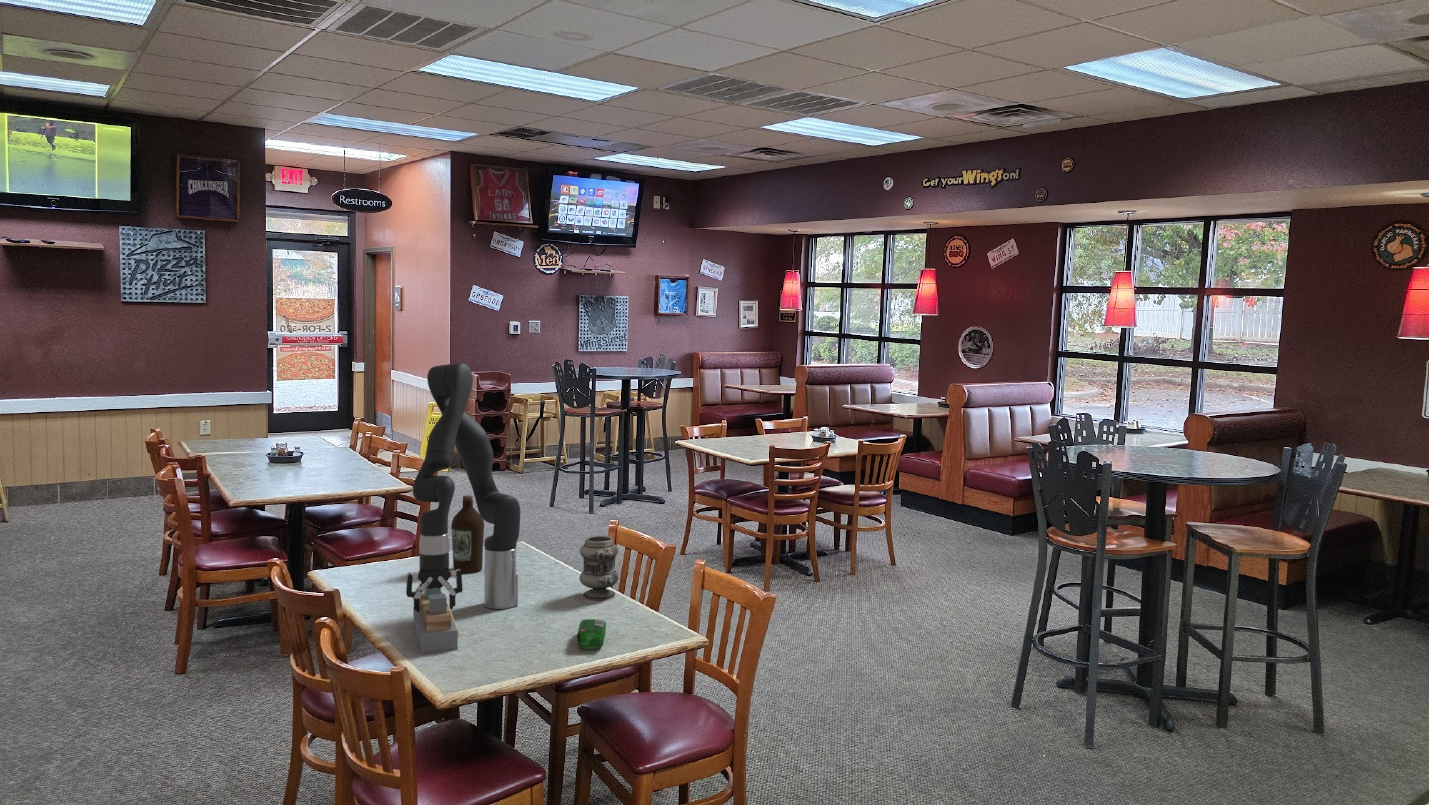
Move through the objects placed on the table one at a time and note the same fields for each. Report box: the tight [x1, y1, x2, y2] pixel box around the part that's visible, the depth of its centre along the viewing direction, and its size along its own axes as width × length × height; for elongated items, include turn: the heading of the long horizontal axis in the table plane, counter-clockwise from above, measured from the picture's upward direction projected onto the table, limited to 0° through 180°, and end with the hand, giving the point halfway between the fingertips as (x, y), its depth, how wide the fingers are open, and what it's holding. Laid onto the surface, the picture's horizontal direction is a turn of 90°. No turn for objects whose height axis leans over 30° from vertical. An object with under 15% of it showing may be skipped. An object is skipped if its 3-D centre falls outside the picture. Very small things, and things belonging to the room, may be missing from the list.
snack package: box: [576, 618, 607, 650], centre depth 253 cm, size 7×16×5 cm, turn 3°
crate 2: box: [429, 593, 448, 615], centre depth 247 cm, size 4×4×4 cm
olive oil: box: [450, 494, 485, 574], centre depth 318 cm, size 11×11×25 cm
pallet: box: [419, 591, 452, 632], centre depth 254 cm, size 21×6×4 cm, turn 22°
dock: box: [412, 605, 460, 654], centre depth 254 cm, size 9×23×5 cm, turn 22°
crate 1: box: [423, 587, 442, 599], centre depth 260 cm, size 4×4×4 cm
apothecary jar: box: [578, 535, 620, 601], centre depth 293 cm, size 12×12×18 cm
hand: (434, 610), depth 254 cm, fingers open, 8 cm apart
